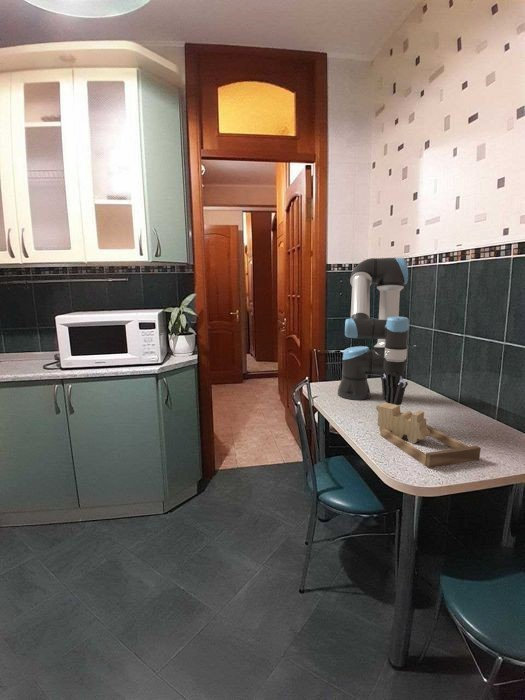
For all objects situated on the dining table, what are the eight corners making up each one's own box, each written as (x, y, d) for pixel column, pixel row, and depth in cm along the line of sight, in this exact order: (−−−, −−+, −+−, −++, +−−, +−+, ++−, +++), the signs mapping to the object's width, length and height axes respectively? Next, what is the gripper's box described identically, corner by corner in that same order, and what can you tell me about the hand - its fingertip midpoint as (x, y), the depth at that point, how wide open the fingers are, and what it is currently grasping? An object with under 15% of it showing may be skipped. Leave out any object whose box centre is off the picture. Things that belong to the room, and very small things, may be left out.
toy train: (422, 446, 113) (425, 417, 111) (374, 431, 125) (375, 404, 123) (429, 441, 117) (431, 413, 115) (381, 427, 129) (383, 401, 127)
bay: (380, 435, 122) (380, 424, 121) (423, 429, 126) (424, 419, 126) (428, 468, 99) (429, 455, 99) (479, 460, 104) (480, 447, 103)
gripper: (375, 356, 132) (371, 415, 136) (397, 364, 119) (392, 428, 124) (392, 355, 134) (388, 413, 138) (416, 362, 121) (410, 426, 126)
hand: (390, 420), depth 131 cm, fingers closed
